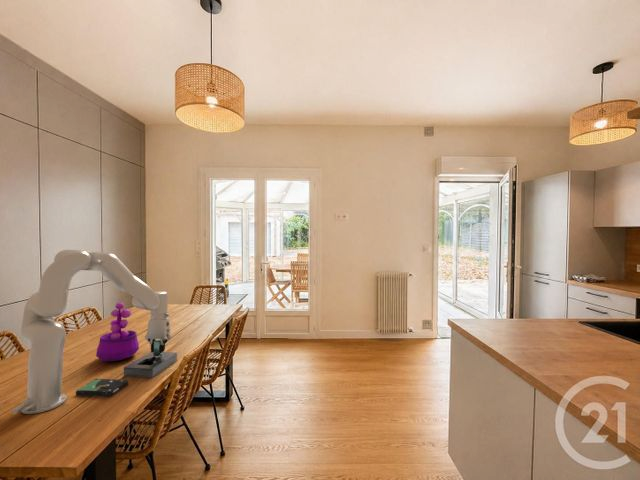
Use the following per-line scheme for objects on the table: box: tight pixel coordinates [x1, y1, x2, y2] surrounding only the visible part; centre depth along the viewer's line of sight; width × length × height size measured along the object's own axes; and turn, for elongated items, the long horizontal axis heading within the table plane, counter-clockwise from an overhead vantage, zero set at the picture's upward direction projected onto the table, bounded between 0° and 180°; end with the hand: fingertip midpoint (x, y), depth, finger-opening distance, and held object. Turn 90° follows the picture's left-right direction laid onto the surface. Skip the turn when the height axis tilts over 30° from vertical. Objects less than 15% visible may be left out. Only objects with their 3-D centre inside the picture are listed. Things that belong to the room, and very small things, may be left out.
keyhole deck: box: [123, 351, 178, 379], centre depth 143 cm, size 20×14×4 cm
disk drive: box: [75, 378, 129, 398], centre depth 121 cm, size 10×3×15 cm
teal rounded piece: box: [151, 339, 162, 365], centre depth 147 cm, size 5×5×12 cm
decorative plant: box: [95, 301, 140, 362], centre depth 154 cm, size 19×18×30 cm
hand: (157, 351), depth 147 cm, fingers closed on teal rounded piece, 3 cm apart
